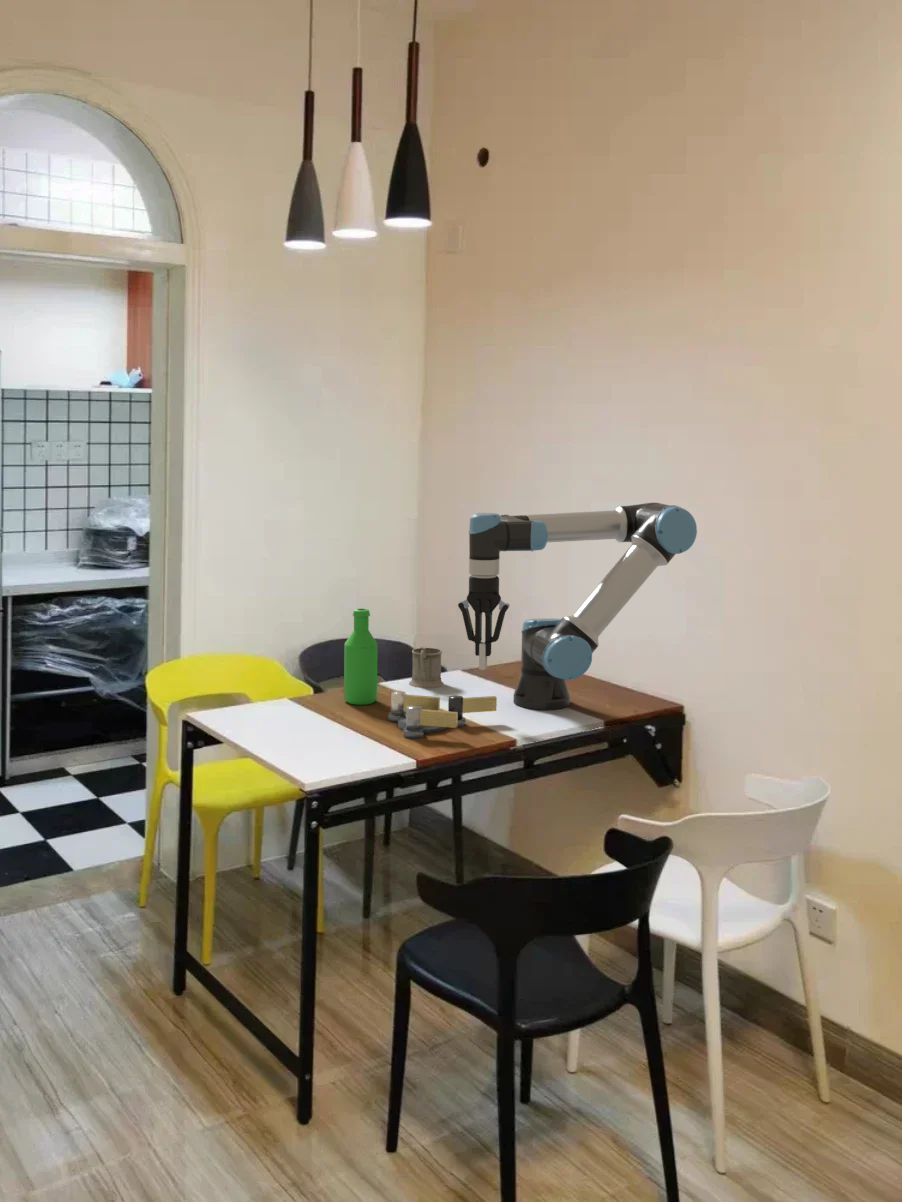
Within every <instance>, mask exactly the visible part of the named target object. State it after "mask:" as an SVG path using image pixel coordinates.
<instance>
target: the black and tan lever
mask: <svg viewBox="0 0 902 1202" xmlns="http://www.w3.org/2000/svg"><path fill="white" fill-rule="evenodd" d="M497 700H498V698H497V696H495V695H487V696H472V697H470V696H469V697H463V695H457V694H456V695H454V694H453V695H449V696H448V705H447V706H448V707H447V708H448V709H447V711H450V712H458V720H462V719H463V714H466V713H467V714H468V713H469V714H470V713H485V712H496V711H497V703H498V701H497Z"/></svg>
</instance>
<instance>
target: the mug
mask: <svg viewBox="0 0 902 1202" xmlns="http://www.w3.org/2000/svg"><path fill="white" fill-rule="evenodd" d="M411 653H412V672H411V673H412V675H411V676H412V677H411V680H410V681H409V682H408V685H410V686H412V687H414V688H420V689H421V688H422V689H432V688H433V689H435V688H440V687H443V686H444V681H442V675H441V673H442V654H443V651H442V649H440V648H435V647H434V648H433V647H427V646H419V647H418V648H414V649H412V650H411Z"/></svg>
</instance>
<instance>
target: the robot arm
mask: <svg viewBox="0 0 902 1202" xmlns="http://www.w3.org/2000/svg"><path fill="white" fill-rule="evenodd" d="M468 535H469V537H468V539H469V542H468V544H469V556H468V562H469V563H468V573H469V575H470V576H469V577H468V594H467V596H466V599H464V600H463V601H460V602H458V604H457V607H458V608H459V610H460V611H461V614H462V615H461V616H462V619H463V623H464V627H465V631H466V637H467V640H468V641H471V642H473V643H474V649H475V650H474V654H475V656H477V657H478V670H479V671H480V670H481V671H482V670H484V671H485V670H486V669H487V668H488V657H490V656H491V654H492V643H495V642H497V641H498V640H499V638H500V636H501V631H502V628H503V625H504V624H503V623H504V619H505V615H506V612H507V611H508V610H509V608H510V604H509V603H506V602H504V601H503V600H502V597H501V595H500V577H499V576H498V575H500V555H501V554H500V552H533V551H542V550H544V549H545V548H546V546H547V543H563V542H580V541H582V542H584V541H599V540H616V541H617V542H618V543H631V545H630V547H629V548H628V549H627V550H626V551H625V553H624V554H623V555H622V556H621V557H620V558H619V560H618V561H617V562H616V563H615V564H614V565H613V567H611V569H610V570H609V572H607V574H606V575H605V576H604V577H603V579H602V580H601V581H600V582H599V584H597V586H596V587H595V588H594V589H593V590H592V592H591V593H590V594H589V595H588V597H587V598H585V600H584V601H583V602H582V604H581V605H580V606H579V607H578V608H577V610H576V611H575V612H574V613H573V614H572V615H568V616H566V615H565V616H563V617H562V618H528V619H525V620H524V621H523V623H522V629H521V655H520V656H521V659H520V660H521V661H520V665H521V666H520V675H519V679H518V681H517V684H516V686H515V688H514V692H513V703H514V704H515V705H516V706H518V707H519V706H520V707H522V708H526V709H533V710H559V709H564V708H566V707H567V708H568V707H569V705H570V703H571V695H570V691H569V689H568V685H567V680H568V681H570V680H575V679H578V678H581V676H583V675H584V674H585V673H586V672H588V670H589V668H590V667H591V664H592V661H593V653H594V652H595V651H596V649H597V648H598V647H599V638H600V635H601V634H602V633H603V631H605V630H606V628H607V627H608V626H609V625H610V624H611V623H612V621H613V620H614V618H616V616H617V615H618V614H619V613H620V611H621V610H622V609H623V608H624V607H625V606H626V605H627V604H628V603H629V601H630V600H631V598H632V597H633V596H635V594H636V592H638V590H639V589H640V588H641V586H643V584H644V583H645V582H646V581H647V579H649V577H650V576H651V575H652V574H653V572H654V571H655V570H656V569H657V568H658V567H661V566H662V567H663V566H667V565H668V564H669V563H670V561H671V560H672V559H673V558H674V557H675V556H676V555H679V554H683V553H685V552H687V551H688V550H690V549H691V547H692V546H693V545H694V543H695V541H696V539H697V536H698V529H697V522H696V520H695V517H694V516H693V514H691V513H690V511H688V510H687V509H685V508H683V507H681V506H679V505H673V504H672V505H670V504H665V503H660V502H645V503H641V504H631V505H620V506H615V508H614V509H613V510H601V511H600V510H599V511H597V510H596V511H581V512H562V513H561V512H559V513H557V512H556V513H541V514H539V513H538V514H525V515H524V514H522V515H520V514H519V515H509V514H501V515H500V514H499V513H496V512H477V513H473V514H472V515H471V516H470V519H469V530H468ZM497 606H498V610H499V612H498V615H497V619H496V624H495V626H494V631H493V612H494V610H495V609H496V608H497ZM469 607H471V608H472V610H473V611H474V622H475V623H474V628H473V624H472V620H471V619H472V618H471V614H470V611H469ZM483 613H484V618H485V619H484V620H485V621H484V622H485V624H484V625H485V626H484V641H483V638H482V637H483V636H482V634H483V633H482V630H483V629H482V628H483V625H482V624H483ZM492 631H493V632H492Z"/></svg>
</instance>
